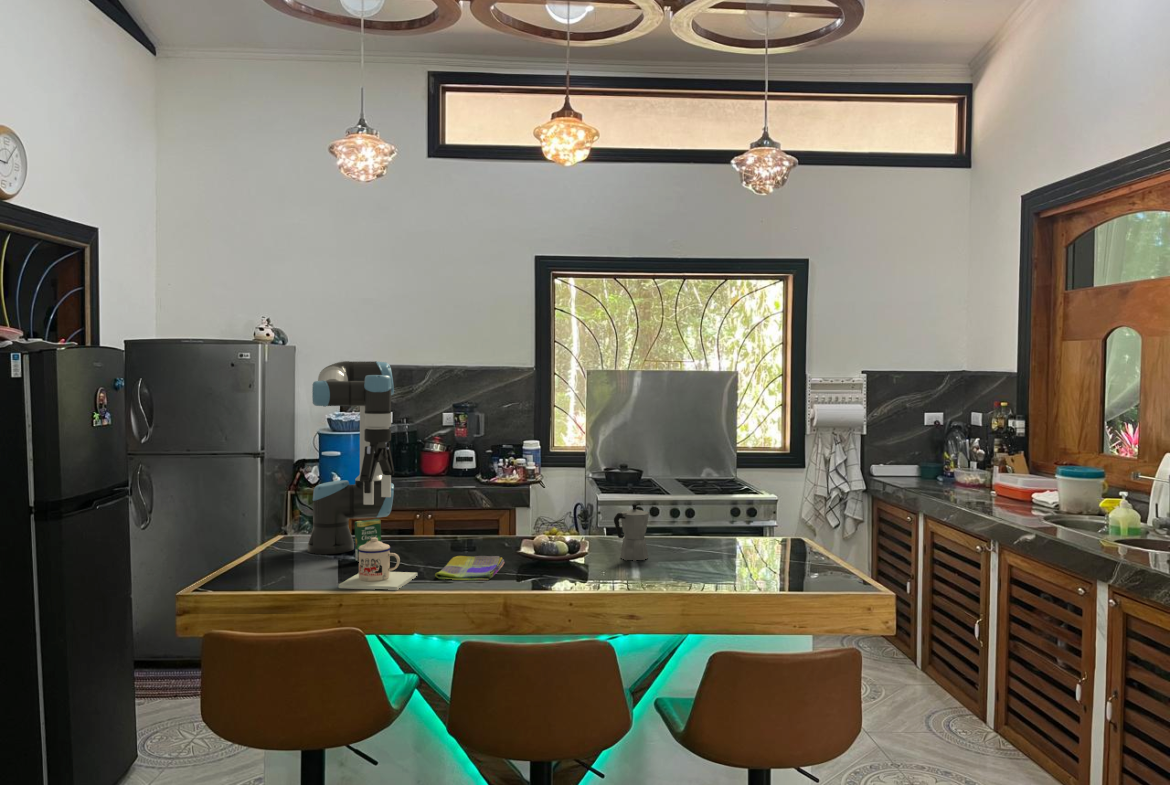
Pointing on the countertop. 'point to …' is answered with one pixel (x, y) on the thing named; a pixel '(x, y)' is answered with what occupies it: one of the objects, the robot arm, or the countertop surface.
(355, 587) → the tile
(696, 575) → the countertop surface
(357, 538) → the coffee box
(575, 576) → the countertop surface
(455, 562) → the dish towel
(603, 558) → the countertop surface
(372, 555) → the teacup with lid
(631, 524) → the coffeepot
